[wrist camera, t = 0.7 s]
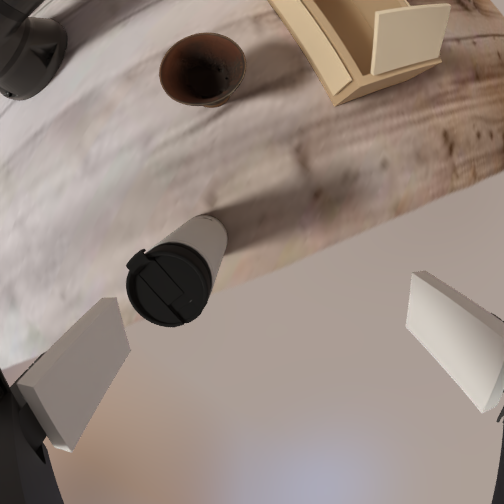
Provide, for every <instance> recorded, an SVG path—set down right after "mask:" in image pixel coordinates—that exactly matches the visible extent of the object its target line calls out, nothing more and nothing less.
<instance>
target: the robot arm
mask: <svg viewBox="0 0 504 504" xmlns="http://www.w3.org/2000/svg"><path fill="white" fill-rule="evenodd" d="M44 1H45V0H0V93H1V94H2V95H4V96H5V97H7V98H9V99H13V100H19V101H20V100H26V99H28V98H30V97H32V96H34V95H35V94H37V93H38V92H39V91H41V90H42V89H43V88H44V87H45V86H46V85H47V83H48V82H49V81H50V80H51V79H52V77H53V76H54V74H55V73H56V71H57V69H58V68H59V66H60V64H61V62H62V59H63V57H64V54H65V50H66V46H67V34H66V31H65V29H64V28H63V26H62V25H60V24H59V23H57V22H56V21H54V20H51V19H44V18H35V17H28V16H29V15H30V14H31V13H32V12H33V11H34V10H35V9H36V8H37V7H38V6H39V5H40V4H42V3H43V2H44ZM406 328H407V329H408V330H409V331H410V332H411V333H412V334H413V335H414V336H415V337H416V338H417V339H418V341H419V342H420V343H421V344H422V345H423V346H424V347H425V348H426V349H427V350H428V351H429V352H430V354H431V355H432V356H433V357H434V358H435V359H436V360H437V361H438V362H439V364H440V365H441V366H442V367H443V368H444V369H445V371H446V372H447V373H448V374H449V375H450V376H451V377H452V379H453V380H454V381H455V382H456V383H457V384H458V385H459V387H460V388H461V389H462V390H463V391H464V392H465V394H466V395H467V396H468V397H469V398H470V400H471V401H472V402H473V403H474V404H475V406H476V407H477V408H478V409H479V410H480V412H481V413H484V412H486V411H488V410H490V409H492V408H494V407H496V406H497V405H498V402H499V400H500V398H501V396H502V393H503V392H504V321H502V320H501V319H500V318H498V317H497V316H496V315H494V314H492V313H490V312H488V311H486V310H485V309H484V308H482V307H481V306H479V305H478V304H476V303H475V302H473V301H472V300H470V299H469V298H467V297H466V296H464V295H463V294H461V293H460V292H458V291H457V290H455V289H453V288H452V287H450V286H449V285H447V284H446V283H444V282H442V281H441V280H439V279H437V278H436V277H435V276H433V275H431V274H430V273H428V272H426V271H420V272H413V273H412V278H411V288H410V297H409V306H408V314H407V321H406ZM130 351H131V350H130V346H129V343H128V339H127V336H126V332H125V329H124V325H123V321H122V317H121V314H120V310H119V306H118V302H117V297H115V298H102V299H100V300H99V301H98V302H97V303H96V304H95V305H94V306H93V307H92V308H91V309H90V310H89V311H88V312H87V313H85V314H84V315H83V316H82V317H81V318H80V319H79V320H78V321H77V322H76V323H75V324H74V325H73V326H72V327H71V328H70V329H69V330H68V331H67V332H66V333H65V334H64V335H63V336H62V337H61V338H60V339H59V340H58V341H57V342H56V343H55V344H54V345H53V346H52V347H51V348H50V349H49V350H48V351H46V352H45V353H43V354H41V355H40V356H39V357H38V359H37V360H36V361H35V362H34V363H33V364H32V365H31V366H30V367H29V369H27V370H26V371H25V372H24V373H23V374H22V375H21V376H20V377H19V378H18V379H17V380H16V381H15V383H14V384H13V385H12V386H11V387H9V385H8V383H7V381H6V379H5V377H4V375H3V373H2V371H1V369H0V504H64V502H63V500H62V497H61V494H60V491H59V488H58V486H57V482H56V479H55V476H54V472H53V469H52V466H51V462H50V459H49V455H48V451H47V449H46V446H45V445H44V443H43V440H44V439H45V437H46V436H47V437H48V438H49V440H50V441H51V443H52V444H53V446H54V447H55V448H58V449H62V450H65V451H69V452H73V450H74V448H75V446H76V444H77V442H78V441H79V439H80V437H81V435H82V433H83V431H84V430H85V428H86V426H87V424H88V422H89V421H90V419H91V417H92V415H93V413H94V412H95V410H96V408H97V406H98V405H99V403H100V401H101V400H102V398H103V396H104V394H105V393H106V391H107V389H108V388H109V386H110V384H111V382H112V381H113V379H114V378H115V376H116V374H117V372H118V371H119V369H120V367H121V366H122V364H123V363H124V361H125V359H126V358H127V356H128V354H129V353H130ZM503 416H504V407H503V409H502V411H501V413H500V415H499V417H498V419H497V422H499V421H500V419H501V417H503ZM503 423H504V421H503ZM492 504H504V426H503V438H502V448H501V456H500V463H499V469H498V475H497V481H496V486H495V491H494V495H493V500H492Z"/></svg>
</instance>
